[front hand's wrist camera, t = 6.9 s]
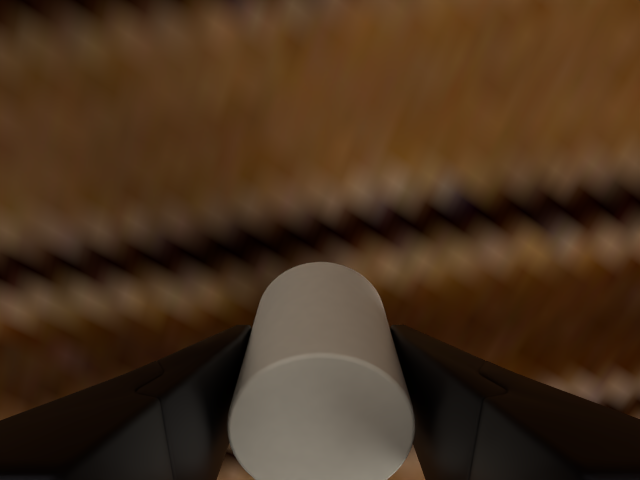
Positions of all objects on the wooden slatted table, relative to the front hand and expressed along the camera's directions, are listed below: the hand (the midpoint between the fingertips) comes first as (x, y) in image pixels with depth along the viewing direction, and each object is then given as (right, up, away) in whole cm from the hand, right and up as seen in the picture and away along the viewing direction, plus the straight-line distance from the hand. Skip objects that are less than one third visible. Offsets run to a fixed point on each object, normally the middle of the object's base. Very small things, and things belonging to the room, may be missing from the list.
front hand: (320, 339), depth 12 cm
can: (0, 0, +1) cm, 1 cm away
